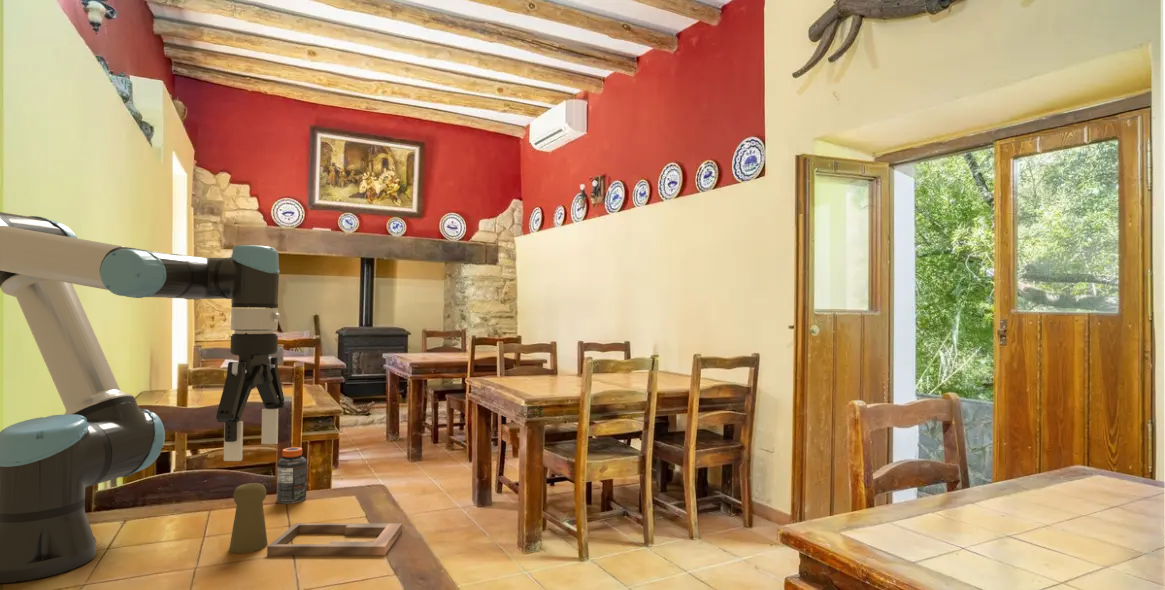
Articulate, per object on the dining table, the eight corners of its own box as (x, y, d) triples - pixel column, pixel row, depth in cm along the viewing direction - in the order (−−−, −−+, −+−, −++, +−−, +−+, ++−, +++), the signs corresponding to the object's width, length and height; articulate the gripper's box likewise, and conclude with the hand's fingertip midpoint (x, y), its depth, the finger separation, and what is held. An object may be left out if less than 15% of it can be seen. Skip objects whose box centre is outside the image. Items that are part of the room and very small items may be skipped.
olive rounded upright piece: (251, 554, 110) (253, 490, 110) (221, 551, 111) (222, 487, 112) (275, 542, 116) (276, 481, 116) (245, 539, 117) (247, 478, 118)
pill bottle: (301, 494, 146) (302, 444, 146) (309, 500, 141) (310, 449, 141) (273, 499, 142) (274, 447, 142) (280, 505, 137) (282, 452, 138)
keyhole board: (267, 555, 110) (267, 546, 110) (295, 531, 122) (295, 523, 122) (384, 555, 111) (385, 546, 111) (401, 531, 123) (402, 523, 123)
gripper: (241, 334, 102) (239, 468, 102) (303, 330, 127) (301, 437, 127) (193, 334, 102) (190, 468, 102) (265, 330, 127) (263, 437, 126)
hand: (252, 451), depth 114 cm, fingers open, 13 cm apart
